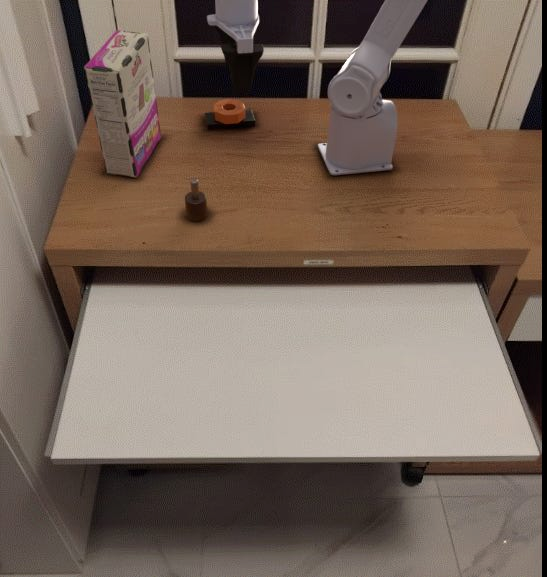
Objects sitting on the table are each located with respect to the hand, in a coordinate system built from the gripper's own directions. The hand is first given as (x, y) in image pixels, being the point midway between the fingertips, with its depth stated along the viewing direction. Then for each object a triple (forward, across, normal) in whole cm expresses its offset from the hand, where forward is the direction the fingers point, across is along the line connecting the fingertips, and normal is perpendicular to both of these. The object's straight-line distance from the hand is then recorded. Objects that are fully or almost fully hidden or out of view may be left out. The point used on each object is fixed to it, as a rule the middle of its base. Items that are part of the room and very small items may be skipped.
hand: (237, 79), depth 94 cm
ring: (+8, -3, -1) cm, 8 cm away
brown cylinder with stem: (+9, +20, -9) cm, 23 cm away
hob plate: (+9, -3, -1) cm, 9 cm away
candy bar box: (+9, +4, -16) cm, 19 cm away
